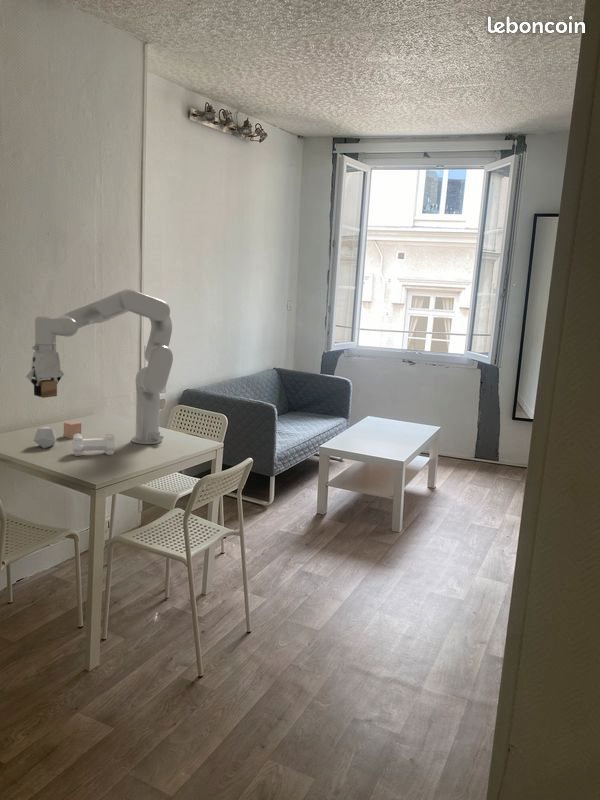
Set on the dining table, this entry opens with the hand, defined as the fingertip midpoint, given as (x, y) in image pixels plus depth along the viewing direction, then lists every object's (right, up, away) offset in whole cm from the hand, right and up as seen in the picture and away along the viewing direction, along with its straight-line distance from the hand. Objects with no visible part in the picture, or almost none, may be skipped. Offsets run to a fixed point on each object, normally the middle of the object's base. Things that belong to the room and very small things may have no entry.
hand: (45, 394), depth 244 cm
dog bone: (+19, -24, -1) cm, 31 cm away
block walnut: (0, -1, 0) cm, 1 cm away
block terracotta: (+3, -18, +22) cm, 28 cm away
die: (-2, -21, +4) cm, 21 cm away
